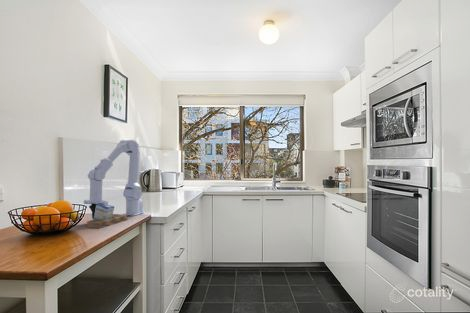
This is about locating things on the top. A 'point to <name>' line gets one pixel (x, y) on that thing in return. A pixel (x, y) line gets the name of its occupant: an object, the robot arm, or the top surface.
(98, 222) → the walnut channel
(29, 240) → the top surface
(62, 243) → the top surface
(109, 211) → the medicine box
